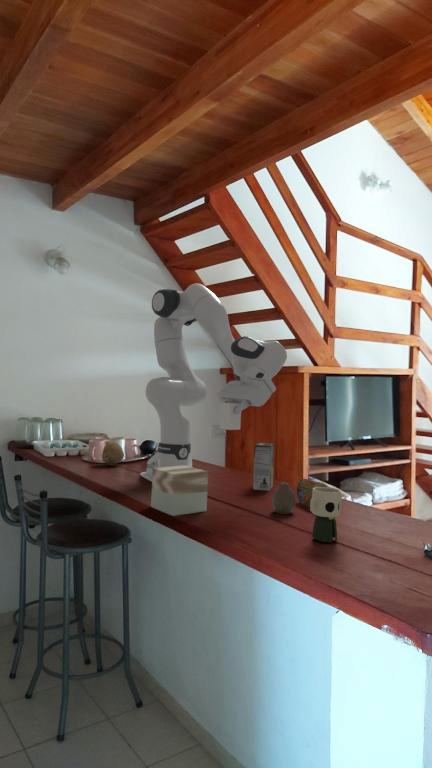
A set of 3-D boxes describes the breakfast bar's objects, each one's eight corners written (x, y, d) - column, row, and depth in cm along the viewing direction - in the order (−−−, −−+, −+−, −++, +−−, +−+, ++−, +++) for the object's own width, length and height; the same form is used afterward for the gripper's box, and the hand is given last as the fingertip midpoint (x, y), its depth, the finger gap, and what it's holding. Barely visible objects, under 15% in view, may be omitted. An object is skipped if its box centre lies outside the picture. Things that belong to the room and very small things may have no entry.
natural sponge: (127, 465, 240) (128, 442, 240) (117, 468, 231) (118, 444, 231) (108, 463, 243) (109, 440, 242) (98, 466, 234) (98, 442, 234)
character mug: (319, 547, 135) (322, 494, 134) (298, 539, 140) (301, 488, 140) (349, 541, 141) (352, 490, 141) (328, 534, 147) (331, 485, 146)
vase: (296, 511, 170) (298, 482, 170) (292, 516, 164) (293, 486, 163) (274, 508, 172) (275, 480, 172) (269, 513, 166) (270, 484, 166)
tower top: (152, 487, 168) (152, 468, 168) (184, 484, 176) (185, 465, 176) (173, 495, 159) (174, 474, 159) (207, 491, 166) (208, 471, 166)
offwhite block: (219, 428, 175) (220, 402, 175) (230, 427, 178) (231, 402, 178) (229, 429, 171) (230, 404, 171) (240, 429, 174) (241, 403, 174)
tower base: (151, 507, 168) (151, 487, 168) (183, 503, 176) (184, 484, 176) (172, 516, 159) (173, 495, 159) (206, 511, 166) (207, 491, 166)
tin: (295, 501, 184) (296, 476, 183) (303, 501, 185) (304, 475, 185) (322, 512, 170) (323, 485, 170) (330, 512, 171) (332, 484, 171)
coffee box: (255, 484, 208) (257, 442, 208) (272, 486, 207) (274, 443, 207) (252, 489, 199) (254, 444, 199) (270, 491, 198) (272, 446, 198)
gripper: (228, 373, 187) (203, 402, 181) (270, 375, 171) (244, 407, 165) (238, 386, 190) (214, 415, 184) (280, 389, 173) (255, 421, 168)
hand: (228, 411), depth 174 cm, fingers closed on offwhite block, 5 cm apart
